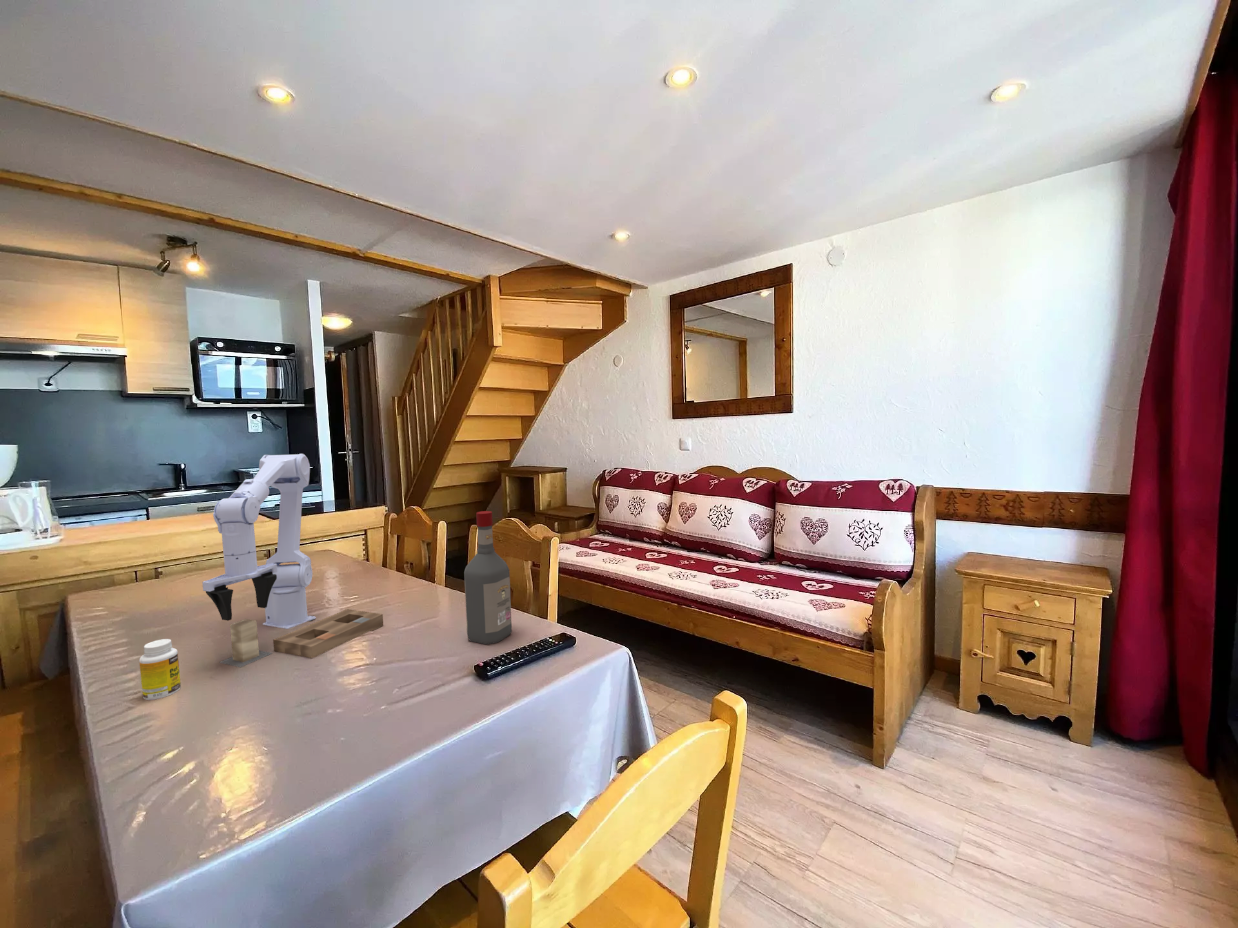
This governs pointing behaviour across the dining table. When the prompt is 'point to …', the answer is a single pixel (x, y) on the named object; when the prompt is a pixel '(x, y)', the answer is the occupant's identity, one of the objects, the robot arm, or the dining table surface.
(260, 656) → the mat
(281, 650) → the socket board
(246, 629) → the birch plug
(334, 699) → the dining table surface
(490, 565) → the liquor
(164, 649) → the supplement bottle
